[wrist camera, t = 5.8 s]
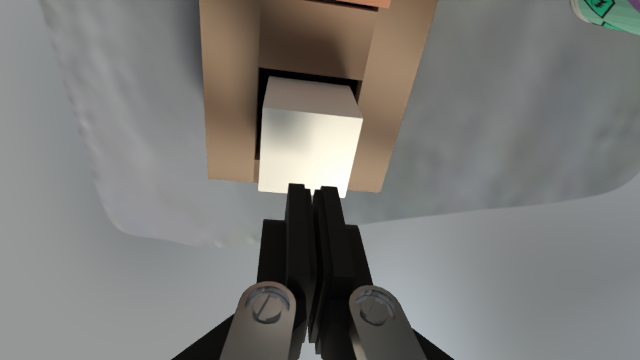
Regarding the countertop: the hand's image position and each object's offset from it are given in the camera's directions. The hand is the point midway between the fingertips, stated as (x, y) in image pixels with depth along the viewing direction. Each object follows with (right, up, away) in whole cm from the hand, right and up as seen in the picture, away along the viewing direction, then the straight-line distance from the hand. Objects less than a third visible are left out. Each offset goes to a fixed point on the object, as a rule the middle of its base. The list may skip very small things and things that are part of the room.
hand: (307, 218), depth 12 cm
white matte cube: (0, +5, +6) cm, 7 cm away
